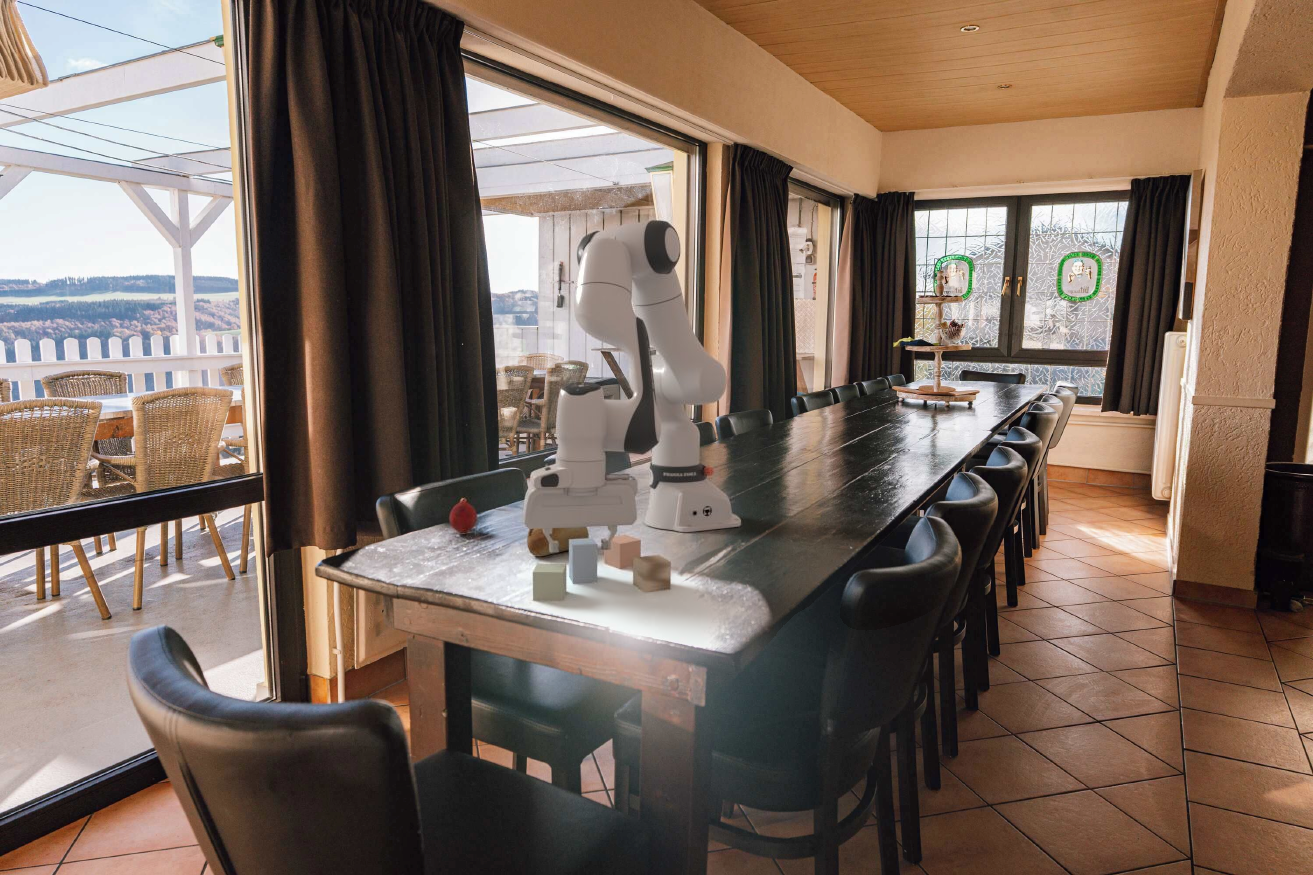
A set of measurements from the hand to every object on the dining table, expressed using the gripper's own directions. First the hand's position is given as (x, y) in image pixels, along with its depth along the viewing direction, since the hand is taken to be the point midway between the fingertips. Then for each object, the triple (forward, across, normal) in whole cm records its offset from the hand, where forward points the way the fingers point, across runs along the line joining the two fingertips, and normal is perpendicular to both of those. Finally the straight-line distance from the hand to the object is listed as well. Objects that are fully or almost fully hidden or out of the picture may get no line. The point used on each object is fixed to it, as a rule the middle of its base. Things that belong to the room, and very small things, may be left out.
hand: (580, 550), depth 149 cm
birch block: (+5, -12, +7) cm, 15 cm away
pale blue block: (+5, -1, 0) cm, 5 cm away
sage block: (+6, +6, +8) cm, 12 cm away
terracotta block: (+5, -10, -8) cm, 14 cm away
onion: (+6, +20, -38) cm, 43 cm away
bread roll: (+6, +2, -20) cm, 21 cm away
